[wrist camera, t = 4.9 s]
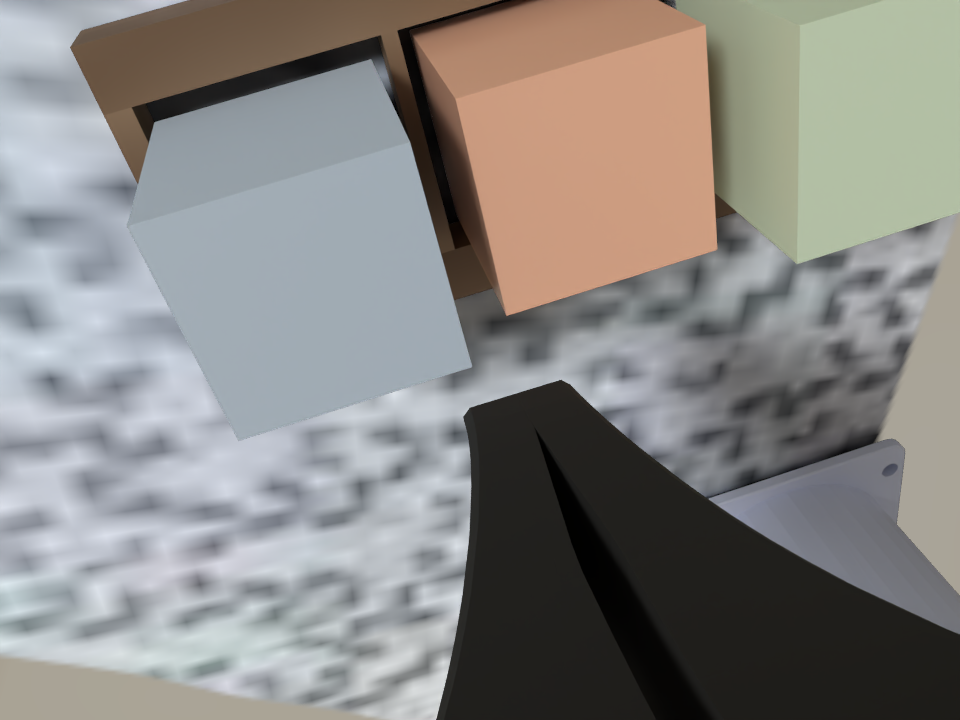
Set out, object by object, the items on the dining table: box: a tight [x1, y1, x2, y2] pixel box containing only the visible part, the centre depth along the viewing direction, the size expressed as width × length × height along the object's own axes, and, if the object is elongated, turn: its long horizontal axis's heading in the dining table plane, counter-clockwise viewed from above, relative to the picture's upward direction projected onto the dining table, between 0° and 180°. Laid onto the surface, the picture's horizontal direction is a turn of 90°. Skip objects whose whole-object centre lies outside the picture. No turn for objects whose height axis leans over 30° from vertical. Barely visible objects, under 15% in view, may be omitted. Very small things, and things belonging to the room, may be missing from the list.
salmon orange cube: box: [409, 0, 717, 316], centre depth 16 cm, size 4×4×4 cm
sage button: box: [676, 0, 960, 264], centre depth 15 cm, size 4×4×4 cm
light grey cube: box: [127, 59, 472, 441], centre depth 15 cm, size 4×4×4 cm
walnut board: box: [70, 0, 736, 300], centre depth 17 cm, size 7×15×1 cm, turn 102°
